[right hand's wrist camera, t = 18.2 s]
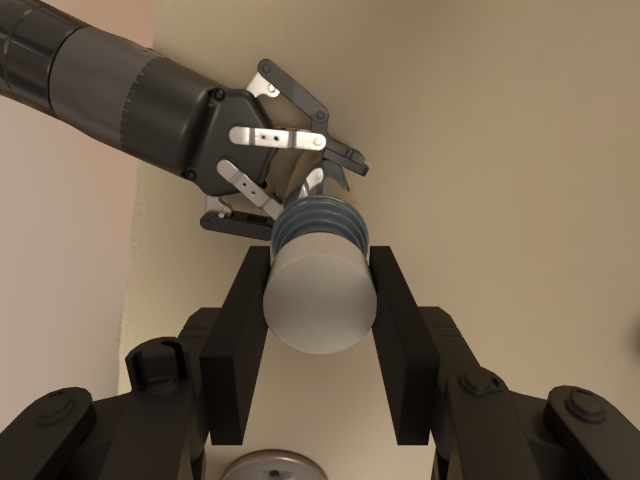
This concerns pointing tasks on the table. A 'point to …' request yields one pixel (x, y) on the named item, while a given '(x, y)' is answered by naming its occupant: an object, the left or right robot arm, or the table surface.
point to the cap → (320, 294)
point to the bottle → (319, 204)
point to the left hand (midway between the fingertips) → (349, 200)
